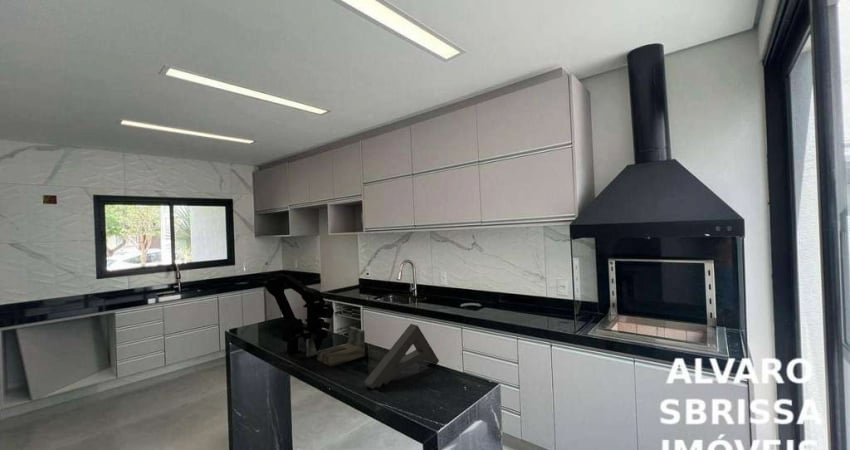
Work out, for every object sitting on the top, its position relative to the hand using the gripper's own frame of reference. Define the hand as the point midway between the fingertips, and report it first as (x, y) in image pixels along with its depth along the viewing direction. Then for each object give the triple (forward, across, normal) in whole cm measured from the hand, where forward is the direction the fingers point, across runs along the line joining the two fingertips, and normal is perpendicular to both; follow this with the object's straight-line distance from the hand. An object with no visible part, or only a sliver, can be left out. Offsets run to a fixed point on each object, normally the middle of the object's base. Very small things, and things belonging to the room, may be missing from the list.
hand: (313, 349), depth 166 cm
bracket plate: (+3, 0, 0) cm, 3 cm away
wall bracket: (+3, -50, -15) cm, 52 cm away
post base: (+3, -14, -7) cm, 16 cm away
